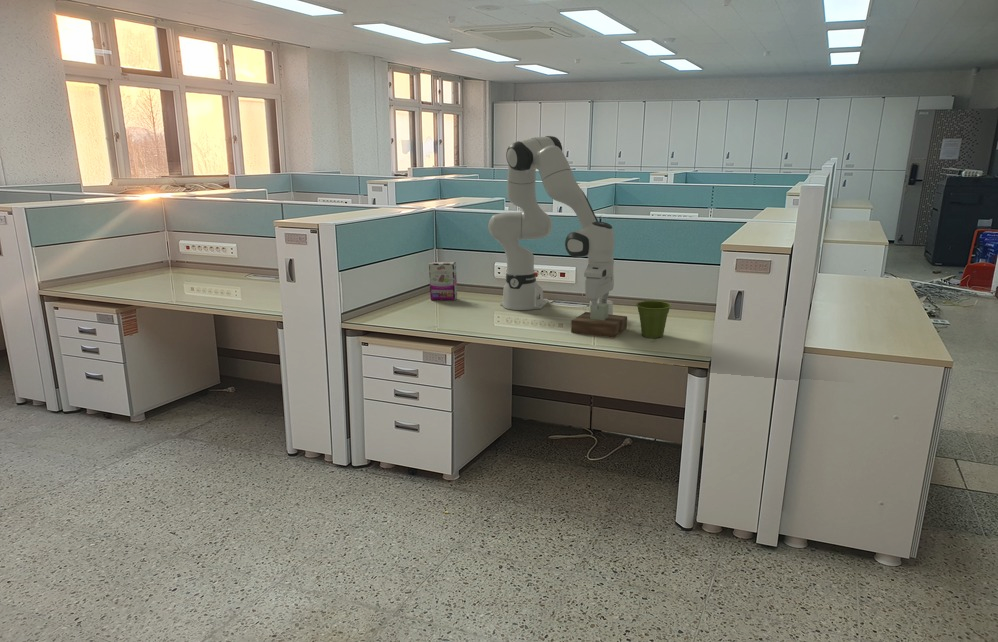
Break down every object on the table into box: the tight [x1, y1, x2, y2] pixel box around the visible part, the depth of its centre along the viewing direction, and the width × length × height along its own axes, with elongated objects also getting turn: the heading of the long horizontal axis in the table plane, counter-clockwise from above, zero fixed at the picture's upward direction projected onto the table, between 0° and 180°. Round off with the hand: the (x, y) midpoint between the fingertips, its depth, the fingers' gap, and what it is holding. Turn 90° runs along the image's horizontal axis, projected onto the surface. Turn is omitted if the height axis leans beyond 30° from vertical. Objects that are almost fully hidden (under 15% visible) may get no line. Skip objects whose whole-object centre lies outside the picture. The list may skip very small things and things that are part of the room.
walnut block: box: [570, 311, 628, 339], centre depth 241 cm, size 14×16×5 cm
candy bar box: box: [428, 261, 458, 301], centre depth 293 cm, size 11×5×16 cm, turn 81°
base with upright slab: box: [588, 296, 614, 315], centre depth 259 cm, size 9×9×12 cm
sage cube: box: [590, 303, 608, 320], centre depth 239 cm, size 5×5×5 cm
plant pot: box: [635, 300, 672, 339], centre depth 232 cm, size 12×12×11 cm
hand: (599, 307), depth 239 cm, fingers open, 8 cm apart
